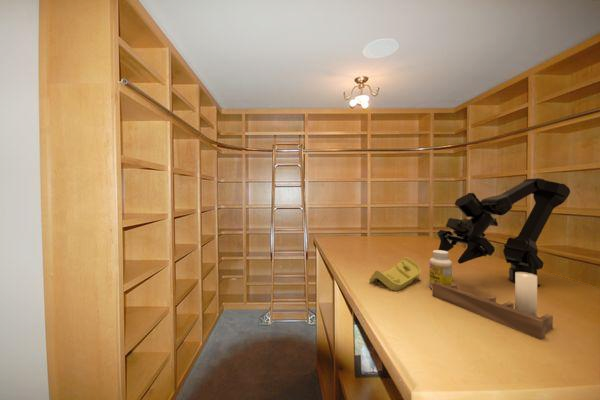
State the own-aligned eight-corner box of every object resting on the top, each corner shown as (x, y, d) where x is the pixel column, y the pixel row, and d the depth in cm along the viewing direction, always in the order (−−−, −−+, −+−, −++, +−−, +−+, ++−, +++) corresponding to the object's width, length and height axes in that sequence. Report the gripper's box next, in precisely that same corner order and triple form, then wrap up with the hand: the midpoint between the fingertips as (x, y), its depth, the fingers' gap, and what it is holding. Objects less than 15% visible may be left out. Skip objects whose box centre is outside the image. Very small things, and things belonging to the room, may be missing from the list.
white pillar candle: (519, 316, 62) (519, 271, 62) (540, 323, 58) (540, 275, 58) (511, 319, 60) (512, 273, 60) (532, 327, 57) (532, 278, 56)
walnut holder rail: (448, 290, 79) (449, 278, 79) (557, 329, 56) (557, 312, 56) (432, 295, 75) (432, 283, 75) (541, 339, 52) (541, 321, 52)
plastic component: (398, 286, 77) (374, 267, 84) (390, 302, 80) (367, 282, 87) (426, 270, 89) (402, 254, 96) (418, 284, 92) (396, 268, 99)
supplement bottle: (425, 285, 84) (425, 249, 83) (442, 284, 84) (442, 249, 84) (437, 293, 77) (437, 254, 77) (456, 292, 77) (457, 253, 77)
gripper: (441, 208, 91) (415, 238, 89) (487, 212, 72) (455, 249, 71) (459, 228, 92) (433, 257, 90) (508, 236, 73) (477, 273, 72)
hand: (447, 258), depth 81 cm, fingers open, 9 cm apart
